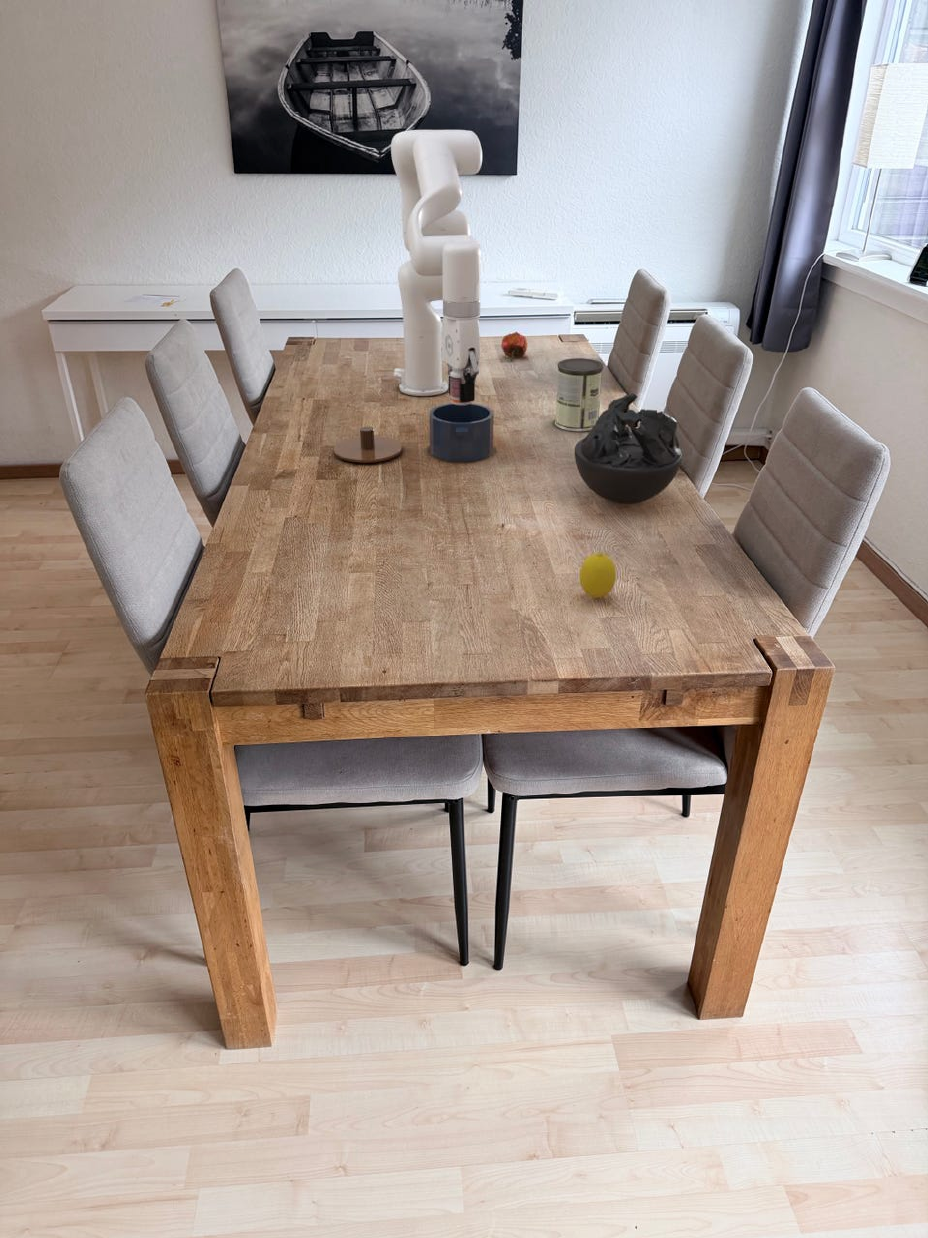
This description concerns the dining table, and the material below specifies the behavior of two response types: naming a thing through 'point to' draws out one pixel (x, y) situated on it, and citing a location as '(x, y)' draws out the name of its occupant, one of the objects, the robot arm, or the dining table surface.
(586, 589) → the lemon
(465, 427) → the pot
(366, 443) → the lid
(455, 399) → the pill bottle
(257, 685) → the dining table surface
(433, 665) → the dining table surface
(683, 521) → the dining table surface
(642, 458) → the coal bowl
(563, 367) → the coffee can
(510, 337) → the pomegranate
